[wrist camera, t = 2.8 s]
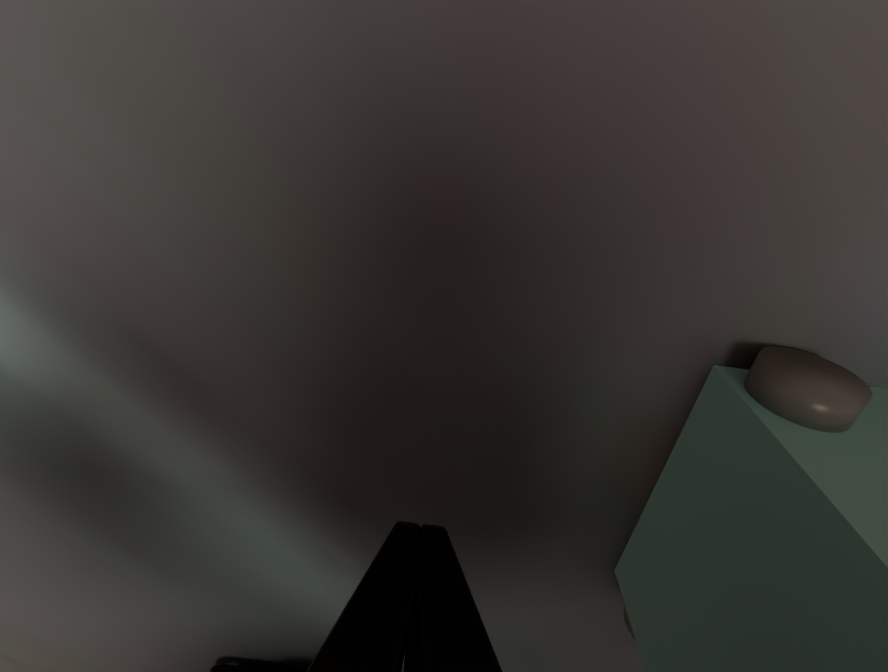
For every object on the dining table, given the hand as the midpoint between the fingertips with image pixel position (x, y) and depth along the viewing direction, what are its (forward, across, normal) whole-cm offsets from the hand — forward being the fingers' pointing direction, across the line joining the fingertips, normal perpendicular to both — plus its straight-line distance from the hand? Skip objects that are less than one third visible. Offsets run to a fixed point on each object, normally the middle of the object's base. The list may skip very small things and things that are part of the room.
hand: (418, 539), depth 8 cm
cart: (+2, -8, 0) cm, 8 cm away
